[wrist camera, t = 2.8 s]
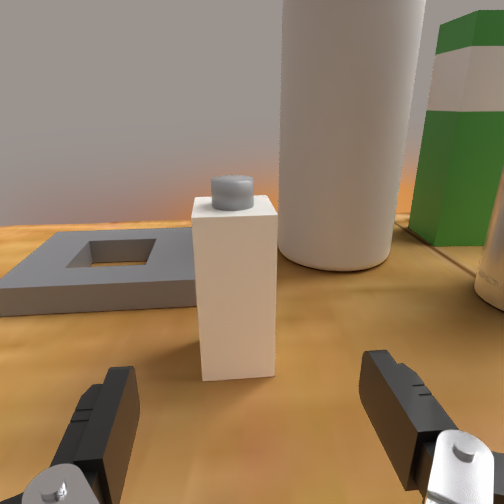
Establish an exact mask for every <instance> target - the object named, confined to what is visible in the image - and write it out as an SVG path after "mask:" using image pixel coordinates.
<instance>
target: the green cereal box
mask: <svg viewBox="0 0 504 504" xmlns="http://www.w3.org/2000/svg"><path fill="white" fill-rule="evenodd" d="M503 164H504V10H478V11H475V12H472V13H470V14H467V15H465V16H462V17H460V18H457V19H455V20H452V21H449V22H447V23H444V24H442V25H440V28H439V35H438V42H437V48H436V54H435V60H434V66H433V73H432V80H431V85H430V92H429V98H428V105H427V111H426V118H425V124H424V131H423V136H422V143H421V149H420V156H419V162H418V168H417V175H416V181H415V188H414V194H413V200H412V206H411V213H410V219H409V226H408V227H409V228H410V229H411V230H413V231H414V232H415V233H417V234H418V235H419V236H421V237H422V238H423V239H425V240H426V241H427V242H429V243H430V244H431V245H433V246H434V247H435V246H484V243H485V239H486V235H487V230H488V226H489V222H490V218H491V214H492V210H493V206H494V201H495V197H496V193H497V189H498V185H499V181H500V177H501V172H502V168H503Z"/></svg>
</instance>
